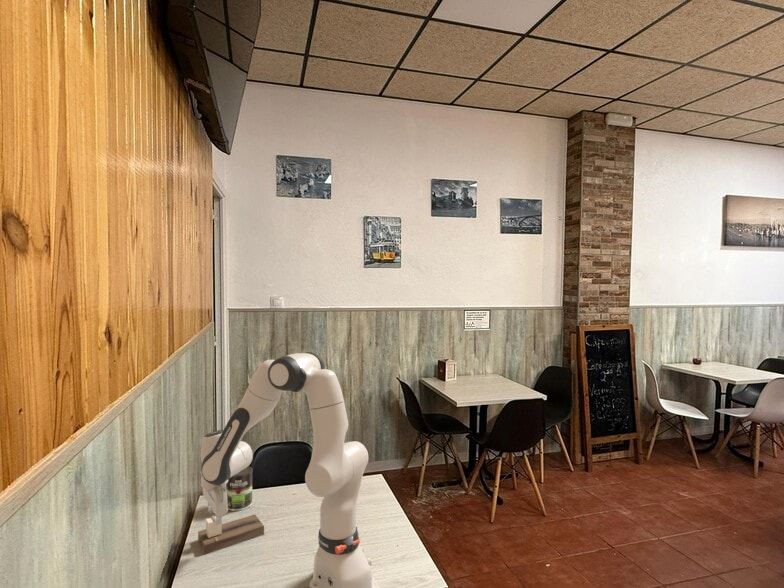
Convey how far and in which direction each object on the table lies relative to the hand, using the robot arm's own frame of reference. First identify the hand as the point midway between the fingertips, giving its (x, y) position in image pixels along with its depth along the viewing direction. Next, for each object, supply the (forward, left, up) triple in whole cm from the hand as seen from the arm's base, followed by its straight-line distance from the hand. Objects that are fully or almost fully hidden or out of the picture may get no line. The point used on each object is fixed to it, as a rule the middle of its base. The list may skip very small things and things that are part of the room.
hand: (214, 518), depth 144 cm
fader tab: (0, 0, -6) cm, 6 cm away
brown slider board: (0, -6, -9) cm, 11 cm away
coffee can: (+22, -15, -9) cm, 28 cm away
